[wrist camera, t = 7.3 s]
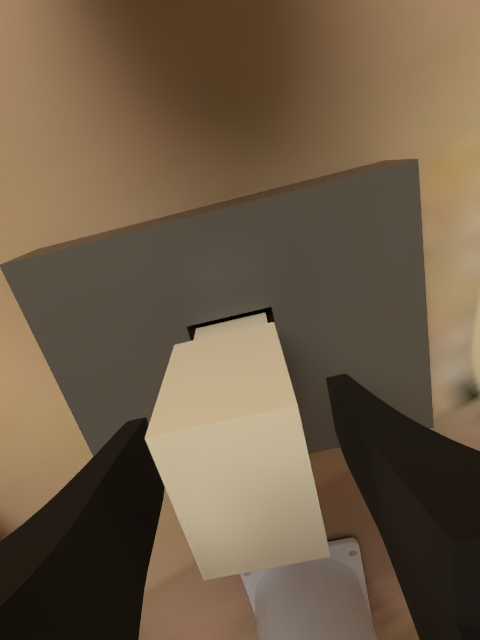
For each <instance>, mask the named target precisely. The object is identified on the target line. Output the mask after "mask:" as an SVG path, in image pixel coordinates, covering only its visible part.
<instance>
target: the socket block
mask: <svg viewBox="0 0 480 640" xmlns="http://www.w3.org/2000/svg"><path fill="white" fill-rule="evenodd" d="M0 268H1V270H2V272H3V274H4V276H5V278H6V280H7V282H8V284H9V286H10V288H11V290H12V292H13V294H14V296H15V298H16V300H17V302H18V304H19V306H20V308H21V310H22V312H23V314H24V316H25V318H26V320H27V322H28V324H29V326H30V328H31V331H32V333H33V335H34V337H35V339H36V341H37V343H38V345H39V347H40V349H41V351H42V353H43V355H44V357H45V359H46V361H47V363H48V365H49V367H50V369H51V371H52V373H53V375H54V377H55V379H56V381H57V383H58V385H59V387H60V389H61V391H62V393H63V396H64V398H65V400H66V402H67V404H68V406H69V408H70V410H71V412H72V414H73V416H74V418H75V420H76V422H77V424H78V426H79V428H80V430H81V432H82V434H83V436H84V438H85V440H86V442H87V444H88V446H89V448H90V450H91V452H92V454H93V456H95V455H96V454H97V453H98V451H99V450H100V449H101V448H102V447H103V446H104V445H105V444H106V443H107V442H108V441H109V440H110V438H111V437H112V436H113V435H114V434H115V433H116V432H117V431H118V430H119V429H120V428H121V427H122V426H123V425H124V424H125V423H126V422H127V421H130V420H135V419H139V418H144V417H146V419H147V421H148V423H150V420H151V416H152V413H153V410H154V407H155V404H156V401H157V398H158V395H159V391H160V388H161V385H162V382H163V379H164V376H165V373H166V369H167V366H168V363H169V360H170V357H171V354H172V351H173V347H174V345H176V344H180V343H184V342H189V341H193V340H194V336H195V331H196V328H200V323H204V322H208V321H212V320H217V319H221V318H225V317H230V316H234V315H238V314H242V313H247V312H251V311H255V310H260V309H264V308H268V307H270V309H271V313H272V318H273V322H274V323H275V327H276V331H277V334H278V338H279V341H280V345H281V348H282V352H283V355H284V359H285V362H286V366H287V369H288V373H289V376H290V380H291V383H292V387H293V390H294V394H295V397H296V401H297V404H298V409H299V413H300V418H301V423H302V427H303V432H304V436H305V441H306V445H307V450H308V453H312V452H317V451H322V450H327V449H332V448H336V447H341V446H340V443H339V440H338V437H337V434H336V432H335V426H334V421H333V415H332V410H331V404H330V398H329V393H328V387H327V382H326V378H327V377H331V376H336V375H340V374H345V373H346V374H347V375H349V376H350V377H352V378H353V379H354V380H355V381H357V382H358V383H359V384H361V385H362V386H363V387H364V388H366V389H367V390H368V391H370V392H371V393H373V394H374V395H375V396H377V397H378V398H379V399H381V400H382V401H384V402H385V403H387V404H388V405H390V406H391V407H393V408H394V409H396V410H397V411H399V412H401V413H402V414H404V415H405V416H407V417H409V418H410V419H412V420H414V421H416V422H417V423H419V424H421V425H423V426H425V427H427V428H428V429H429V428H433V410H432V393H431V375H430V358H429V341H428V323H427V306H426V289H425V271H424V254H423V237H422V219H421V202H420V185H419V167H418V159H405V160H386V161H382V162H378V163H374V164H370V165H366V166H362V167H358V168H354V169H350V170H347V171H343V172H339V173H335V174H331V175H327V176H323V177H319V178H315V179H311V180H307V181H303V182H300V183H296V184H292V185H288V186H284V187H280V188H276V189H272V190H268V191H264V192H260V193H256V194H252V195H249V196H245V197H241V198H237V199H233V200H229V201H225V202H221V203H217V204H213V205H209V206H205V207H201V208H198V209H194V210H190V211H186V212H182V213H178V214H174V215H170V216H166V217H162V218H158V219H154V220H150V221H147V222H143V223H139V224H135V225H131V226H127V227H123V228H119V229H115V230H111V231H107V232H103V233H99V234H96V235H92V236H88V237H84V238H80V239H76V240H72V241H68V242H64V243H60V244H56V245H52V246H48V247H45V248H41V249H37V250H34V251H32V252H29V253H27V254H25V255H22V256H20V257H18V258H15V259H13V260H10V261H8V262H6V263H3V264H1V265H0Z"/></svg>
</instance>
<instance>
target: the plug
mask: <svg viewBox="0 0 480 640" xmlns="http://www.w3.org/2000/svg"><path fill="white" fill-rule="evenodd" d="M145 441H146V443H147V445H148V448H149V450H150V453H151V455H152V457H153V460H154V462H155V465H156V467H157V469H158V472H159V474H160V477H161V479H162V481H163V484H164V486H165V488H166V491H167V493H168V496H169V498H170V500H171V503H172V505H173V508H174V510H175V512H176V515H177V517H178V520H179V522H180V524H181V527H182V529H183V532H184V534H185V536H186V539H187V541H188V544H189V546H190V548H191V551H192V553H193V556H194V558H195V560H196V563H197V565H198V567H199V570H200V572H201V575H202V577H203V579H204V580H210V579H215V578H220V577H226V576H231V575H236V574H242V573H247V572H253V571H258V570H263V569H269V568H274V567H279V566H285V565H290V564H295V563H301V562H306V561H311V560H317V559H322V558H327V557H331V555H330V551H329V546H328V542H327V537H326V532H325V528H324V523H323V519H322V514H321V510H320V505H319V500H318V496H317V491H316V487H315V482H314V477H313V473H312V468H311V464H310V459H309V455H308V450H307V445H306V441H305V436H304V432H303V427H302V423H301V418H300V413H299V409H298V404H297V401H296V397H295V394H294V390H293V387H292V383H291V380H290V376H289V373H288V369H287V366H286V362H285V359H284V355H283V352H282V348H281V345H280V341H279V338H278V334H277V331H276V327H275V323H274V322H271V323H268V322H267V318H266V314H265V313H261V314H256V315H252V316H248V317H243V318H239V319H235V320H230V321H226V322H222V323H218V324H213V325H209V326H205V327H200V328H196V331H195V336H194V340H193V341H189V342H184V343H180V344H176V345H174V347H173V351H172V354H171V357H170V360H169V363H168V366H167V369H166V373H165V376H164V379H163V382H162V385H161V388H160V391H159V395H158V398H157V401H156V404H155V407H154V410H153V413H152V416H151V420H150V423H149V426H148V429H147V432H146V435H145Z"/></svg>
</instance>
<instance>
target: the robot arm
mask: <svg viewBox="0 0 480 640" xmlns="http://www.w3.org/2000/svg"><path fill="white" fill-rule="evenodd" d="M326 382H327V387H328V393H329V398H330V404H331V410H332V415H333V421H334V426H335V432H336V434H337V437H338V440H339V443H340V446H341V449H342V452H343V455H344V458H345V460H346V463H347V465H348V467H349V469H350V471H351V473H352V475H353V477H354V480H355V482H356V484H357V486H358V488H359V490H360V492H361V494H362V496H363V498H364V500H365V502H366V504H367V507H368V509H369V511H370V513H371V515H372V517H373V519H374V521H375V523H376V525H377V527H378V530H379V532H380V534H381V537H382V539H383V541H384V544H385V546H386V549H387V551H388V554H389V557H390V559H391V562H392V565H393V568H394V570H395V573H396V576H397V578H398V581H399V584H400V586H401V589H402V592H403V595H404V597H405V600H406V603H407V606H408V608H409V611H410V614H411V617H412V619H413V622H414V625H415V628H416V630H417V633H418V636H419V639H420V640H480V451H478V450H475V449H473V448H470V447H468V446H465V445H463V444H460V443H458V442H456V441H453V440H451V439H449V438H447V437H445V436H443V435H441V434H439V433H437V432H435V431H433V430H431V429H428V428H427V427H425V426H423V425H421V424H419V423H417V422H416V421H414V420H412V419H410V418H409V417H407V416H405V415H404V414H402V413H401V412H399V411H397V410H396V409H394V408H393V407H391V406H390V405H388V404H387V403H385V402H384V401H382V400H381V399H379V398H378V397H377V396H375V395H374V394H373V393H371V392H370V391H368V390H367V389H366V388H364V387H363V386H362V385H361V384H359V383H358V382H357V381H355V380H354V379H353V378H352V377H350V376H349V375H347V374H346V373H345V374H340V375H336V376H331V377H327V378H326ZM148 426H149V423H148V421H147V419H146V417H144V418H139V419H135V420H130V421H127V422H126V423H125V424H124V425H123V426H122V427H121V428H120V429H119V430H118V431H117V432H116V433H115V434H114V435H113V436H112V437H111V438H110V440H109V441H108V442H107V443H106V444H105V445H104V446H103V447H102V448H101V449H100V450H99V451H98V453H97V454H96V455H95V456H94V457H93V458H92V459H91V460H90V461H89V462H88V463H87V464H86V465H85V466H84V468H83V469H82V470H81V471H80V472H79V473H78V474H77V475H76V476H75V477H74V478H73V479H72V480H71V481H70V482H69V483H68V484H67V485H66V486H65V487H64V488H63V489H62V490H61V491H60V492H59V493H58V494H56V495H55V496H54V497H53V498H52V499H51V500H50V501H49V502H48V503H47V504H46V505H45V506H43V507H42V508H41V509H40V510H39V511H38V512H37V513H35V514H34V515H33V516H32V517H31V518H30V519H28V520H27V521H26V522H25V523H24V524H23V525H21V526H20V527H19V528H18V529H16V530H15V531H14V532H12V533H11V534H10V535H9V536H7V537H6V538H5V539H3V540H2V541H1V542H0V640H138V638H139V628H140V620H141V611H142V603H143V595H144V588H145V582H146V576H147V571H148V566H149V562H150V557H151V553H152V548H153V544H154V539H155V535H156V530H157V526H158V521H159V516H160V512H161V507H162V502H163V496H164V484H163V481H162V479H161V477H160V474H159V472H158V469H157V467H156V465H155V462H154V460H153V457H152V455H151V453H150V450H149V448H148V445H147V443H146V441H145V435H146V432H147V429H148ZM328 546H329V551H330V555H331V557H327V558H322V559H317V560H311V561H306V562H301V563H295V564H290V565H285V566H279V567H274V568H269V569H263V570H258V571H253V572H247V573H242V574H240V575H241V578H242V581H243V584H244V586H245V589H246V592H247V595H248V598H249V600H250V603H251V606H252V609H253V611H254V614H255V617H256V629H257V640H377V637H376V633H375V630H374V627H373V622H372V616H371V611H370V605H369V599H368V593H367V588H366V582H365V576H364V571H363V565H362V559H361V553H360V548H359V544H358V541H357V540H356V539H355V538H345V539H340V540H335V541H330V542H328Z"/></svg>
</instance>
